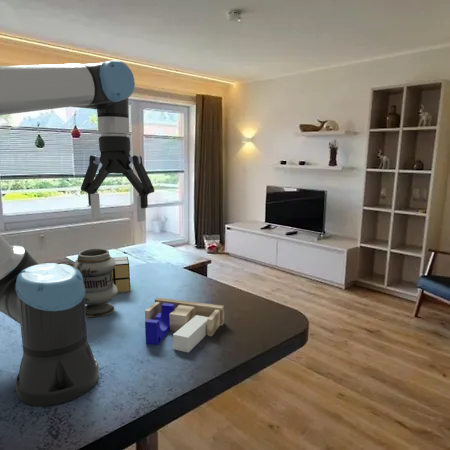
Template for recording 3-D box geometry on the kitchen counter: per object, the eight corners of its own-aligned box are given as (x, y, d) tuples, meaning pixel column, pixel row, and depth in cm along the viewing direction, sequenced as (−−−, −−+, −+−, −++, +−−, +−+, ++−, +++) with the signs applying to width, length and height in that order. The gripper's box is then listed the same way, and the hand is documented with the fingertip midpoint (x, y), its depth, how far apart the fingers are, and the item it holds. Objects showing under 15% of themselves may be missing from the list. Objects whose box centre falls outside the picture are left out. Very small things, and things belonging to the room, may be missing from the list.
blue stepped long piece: (159, 323, 103) (158, 302, 102) (174, 324, 102) (174, 304, 101) (140, 344, 92) (139, 321, 91) (157, 346, 91) (156, 322, 90)
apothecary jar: (77, 322, 103) (72, 259, 100) (73, 306, 114) (69, 249, 111) (121, 314, 109) (119, 254, 105) (114, 300, 119) (111, 245, 116)
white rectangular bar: (188, 353, 88) (188, 337, 87) (173, 350, 89) (173, 334, 88) (210, 331, 99) (210, 317, 98) (196, 329, 100) (196, 315, 99)
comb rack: (214, 336, 95) (214, 318, 94) (143, 325, 101) (142, 308, 100) (224, 323, 103) (224, 305, 102) (158, 313, 109) (157, 297, 108)
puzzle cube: (99, 285, 133) (98, 258, 131) (128, 282, 136) (127, 256, 134) (99, 295, 124) (97, 266, 122) (130, 292, 127) (129, 263, 125)
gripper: (166, 136, 94) (168, 219, 98) (82, 137, 101) (87, 215, 105) (151, 134, 87) (154, 224, 91) (62, 135, 94) (68, 219, 98)
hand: (118, 219), depth 98 cm, fingers open, 13 cm apart
